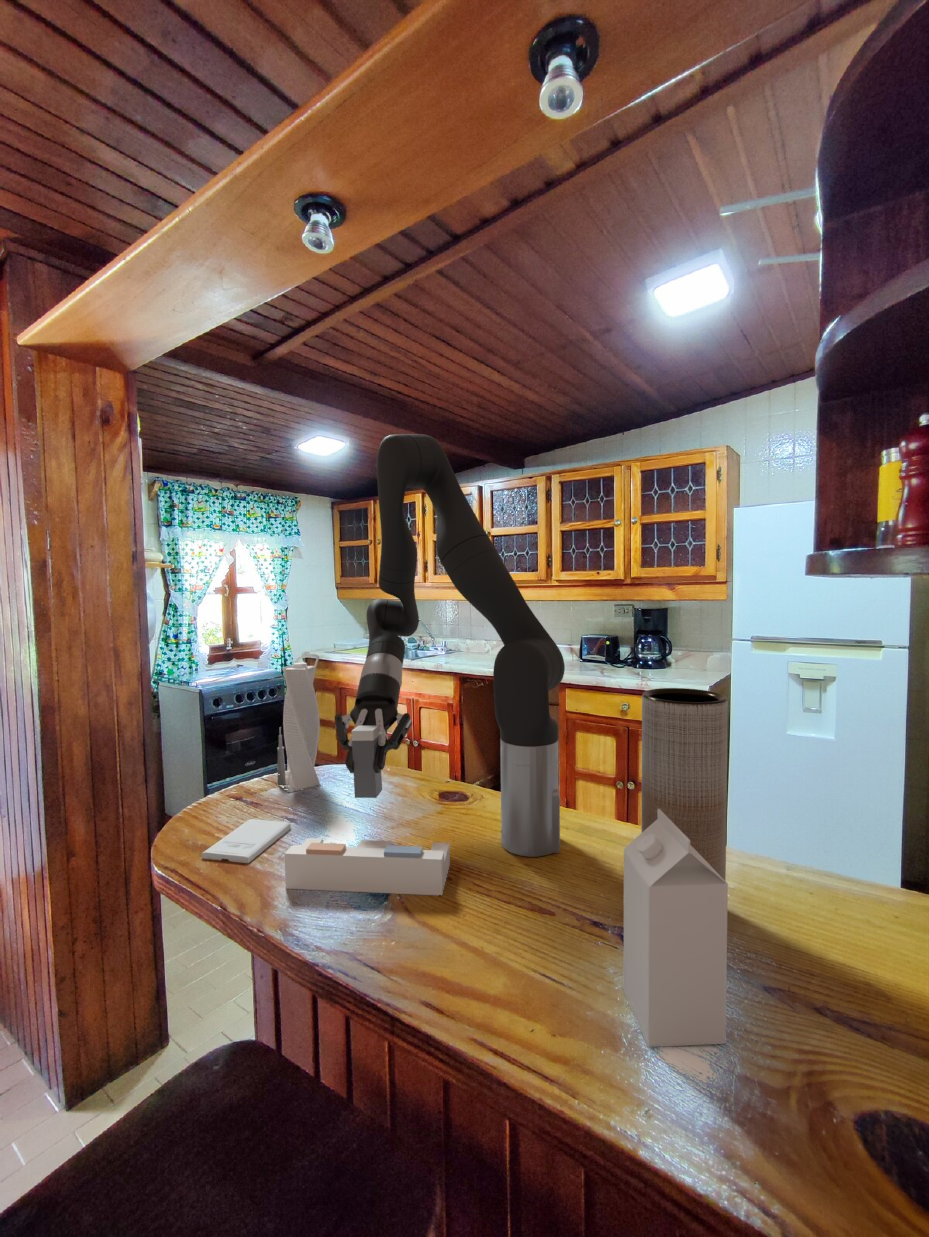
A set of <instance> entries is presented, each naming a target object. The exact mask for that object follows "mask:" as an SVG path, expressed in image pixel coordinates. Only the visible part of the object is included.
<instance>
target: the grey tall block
mask: <svg viewBox="0 0 929 1237" xmlns="http://www.w3.org/2000/svg"><path fill="white" fill-rule="evenodd" d="M378 730H379V725H370V726H357V727H356V728H355V729H354V728H353V729H352V730H351V731H350V732H351V736H352V752H353V764H354V773H353V785H354V786H353V787H354V798H355V799H366V798H367V799H370V798H371V799H375V798H378V796H379V795H380V793H381V792H382V791H383V781H382V780H383V779H382V778H383V776H382V769H381V770H380V773H375V771H374V769H373V763H374V759H375V753H376V748H377V747H378V745H379V744H378V735H379V734H378Z"/></svg>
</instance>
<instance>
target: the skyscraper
mask: <svg viewBox="0 0 929 1237" xmlns="http://www.w3.org/2000/svg"><path fill="white" fill-rule="evenodd" d="M311 657H312V658H315V662H314V665H308V664H307V662H299V661H301V660H302V659H305V658H311ZM319 659H320V656H319V655H318V654H305V655H301V656H300V657H298V658H297V659H296V660H295V661H294V662H293V663H292V664H291V665H287V666H284V667H283V668H282V672H283V676H284V680H285V684H286V691H285V696H284V703H283V714H282V715H283V716H282V717H283V719H282V721H283V722H282V726H283V729H282V726H280V727H278V728H279V730H278V733H279V735H278V736H277V737H278V747H277V748H276V751H277V768H276V770H277V783H278V785H290V787H288V786H287V787H284V788H281V790H283V789H288V790H284V791H285V792H286V791H287V792H292V793H295V791H296V792H299V791H298V790H300V791H302V790H301V789H304V790H308V789H311V788H316V787H319V785H320V786H321V783H320V780H319V777H318V774H317V771H316V769H315V764H316V759H317V753H318V748H319V739H320V726H321V723H320V708H319V703H318V698H317V695H316V691H315V687H314V681H315V675H316V672H317V666H318V663H319V661H320V660H319ZM282 730H283V734H282ZM283 739H284V746H283ZM285 751H286V757H287V762H288V768H289V774H288V778H286V765H285ZM278 774H280V775H278ZM286 779H287V780H286ZM286 782H287V783H286ZM315 786H316V787H315ZM287 792H286V793H287Z"/></svg>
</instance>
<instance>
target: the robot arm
mask: <svg viewBox="0 0 929 1237" xmlns="http://www.w3.org/2000/svg"><path fill="white" fill-rule="evenodd" d="M456 476H457V475H456V474H455V472H454V470H453V468H452V466H451V463H450V461H449V458H448V457H447V454H446V452H445V451H444V448H443V447H442V446H441V444H440V443H439V441H438V440H437V439H436V438H434V437H433V436H431V435H427V434H422V433H421V434H419V433H418V434H417V433H399V434H398V433H397V434H389V435H387V436H385V437H384V438H383V439H382V440H381V442H380V445H379V447H378V449H377V457H376V480H377V498H378V507H379V508H378V509H379V510H378V511H379V519H380V520H379V522H380V534H381V543H380V545H381V546H380V547H381V548H380V559H379V561H380V562H379V569H378V570H379V571H378V572H379V573H378V586H379V589H380V591H382V592H383V593H386V594H388V595H390V596H392V597H395V598H397V599H398V600H392V599H386V598H376V599H374V600H372V601H371V602H370V603H369V605H368V606H367V610H366V624H367V630H368V637H369V638H368V647H367V652H366V657H365V662H364V665H363V666H362V670H361V674H360V676H359V677H360V678H359V681H358V682H359V683H358V686H357V687H358V688H357V691H356V696H355V700H354V706H353V707H352V709H351V710H350V713H347V714H345V715H341V714H340V713H338V714H336V715H335V716H334V723H335V728H336V733H337V739H338V742H339V745H340V746H341V749H343V750H344V751H347V753H346V757H345V763H344V764H345V766H346V769H347V770H348V771H349V773H350V774H354V764H353V752H352V735H351V737H350V739H349V738H348V737H349V735H348V732H347V729H349V727H350V723H351V722H352V723H353V724H354V727H353V729H355V728H356V727H357V726H370V725H379V730H378V734H379V735H378V744H379V745H378V747H377V748H376V753H375V759H374V763H373V769H374V771H375V773H380V770H381V771H382V770H384V768H385V765H386V761H387V760H386V759H387V754H388V752H389V751H391V750H395V751H397V750H399V748H400V746H401V745H402V743H403V741H404V740H405V737H406V736H407V734H408V732H409V730H410V728H411V727H412V725H413V721H412V718H411V715H410V713H408V712H405V713H400V712H398V711H399V710H398V707H399V706H398V705H399V698H400V693H401V688H402V685H403V684H402V683H403V665H404V660H405V652H406V644H405V641H404V640H403V639H402V638H401V637H405V638H407V637H410V636H412V635H414V634H415V632H416V631H417V629H418V627H419V622H420V616H419V610H418V605H417V601H416V592H415V581H416V580H415V579H416V571H417V564H418V551H417V550H418V549H417V545H416V542H415V539H414V536H413V534H412V532H411V530H410V527H409V524H408V522H407V519H406V515H405V508H404V507H405V506H404V502H405V495H406V490H408V489H417V488H421V489H422V490H423V491H424V492H425V493H426V495H427V497H428V498H429V500H430V502H431V504H432V506H433V507H434V511H435V514H436V532H435V535H436V536H435V547H436V553H437V557H438V559H439V561H440V563H441V566H442V567H443V568H444V570H445V572H446V574H447V575H448V577H449V580H450V581H451V583H452V584H453V585H454V588H455V589H456V590H457V591H458V592H459V594H460V595H461V596H462V597H463V598H464V599H465V600H466V601H468V603H469V604H471V606H472V607H474V608H475V609H476V610H477V611H478V612H479V613H480V614H481V615H482V616H483V617H484V618H485V619H486V620H487V621H488V622H489V623H490V624H491V626H492V627H493V629H495V631H496V633H497V635H498V636H499V638H500V641H501V642H502V645H503V646H502V647H501V648H500V649H499V651H498V652H497V654H496V656H495V660H494V664H493V671H492V672H493V675H492V676H493V678H492V680H493V697H494V698H493V699H494V700H493V701H494V715H495V716H494V717H495V720H496V723H497V725H498V728H499V731H500V732H499V733H500V734H499V735H500V736H499V737H500V742H499V743H500V820H501V821H500V822H501V823H500V824H501V826H500V834H501V837H500V839H501V845H502V848H504V849H505V851H508V852H509V853H511V854H514V855H517V856H521V857H529V858H530V857H532V858H534V857H543V856H548V855H550V854H560V853H561V806H560V805H561V803H560V802H561V797H560V796H561V794H560V789H559V778H560V777H559V775H560V774H559V725H558V721H557V720H555V719H554V718H553V717H551V713H550V700H549V699H550V698H549V697H550V696H549V695H550V694H549V693H550V692H549V691H552V690H554V689H555V688H557V687H558V686H559V685H560V684H561V682H562V681H563V678H564V675H565V668H566V667H565V659H564V656H563V653H562V651H561V650H560V648H559V646H558V645H557V644H556V642H555V640H554V639H553V638H552V637H551V635H550V634H549V633H548V630H547V629H546V628H545V627H544V626H543V625H542V623H541V622H540V620H539V619H538V618H537V617H536V615H535V614H534V612H533V611H532V609H531V607H530V606H529V605H528V603H527V601H526V600H525V598H524V596H523V594H522V593H521V590H520V589H519V587H518V586H517V584H516V582H515V580H514V578H513V577H512V575H511V573H510V572H509V569H508V568H507V566H506V564H505V562H504V561H503V559H502V557H501V555H500V554H499V552H498V549H497V548H496V546H495V545H494V543H493V541H492V540H491V538H490V536H489V535H488V534H487V532H486V530H485V529H484V527H483V525H482V524H481V522H480V521H479V519H478V517H477V515H476V513H475V512H474V510H473V508H472V506H471V505H470V502H469V501H468V499H467V497H466V495H465V493H464V491H463V489H462V487H461V485H460V483H459V481H458V479H457V477H456ZM395 723H396V726H395V729H394V730H393V732H392V734H391V735H390V737H389V736H388V730H389V729H390V728H391V727H392V726H393V725H394V724H395Z"/></svg>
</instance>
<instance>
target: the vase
mask: <svg viewBox="0 0 929 1237" xmlns="http://www.w3.org/2000/svg"><path fill="white" fill-rule="evenodd" d="M728 705H729V702H728V697H727V696H725V695H724V694H721V693H720V692H719V693H718V692H716V691H715V692H714V691H711V690H704V689H698V688H697V689H696V688H687V687H686V688H684V687H683V688H681V687H661V688H654V689H653V688H652V689H648V690H646V691H644V692H643V693H642V694H641V833H642V832H643V831H644V830H646V829H647V828H648V827H649V826H650V825H651V824H652V823H653V822H655V821H656V820H657V819H658V809H660V810H661V811H662V812H663V813H664V814H665V815H666V816H667V817H668V818H669V819H670V820H671V821H672V822H673V823H674V824H675V825H676V826H677V827H678V828H679V829H680V830H681V832H682V833H683V834H684V835H685V836H686V837H687V838H688V839H689V840H690V845H691V846H692V847H693V848H694V849H695V850H696V851H697V852H698V853H699V854H700V855H701V856H702V857H703V858H704V859H705V860H706V861H707V862H708V864H709V865H710V866H711V867H712V868H713V869H714V870H715V871H716V872H717V873H718V874H719V875H720V876H721V877H722V878H723V879H724V880H725V881H726V877H727V874H726V872H727V868H726V867H727V866H726V864H727V801H728V800H727V799H728V798H727V795H728V794H727V792H728V791H727V790H728V789H727V786H728V778H727V777H728V766H727V765H728V719H729V718H728V716H729V714H728V713H729V712H728ZM726 882H727V881H726Z"/></svg>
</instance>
